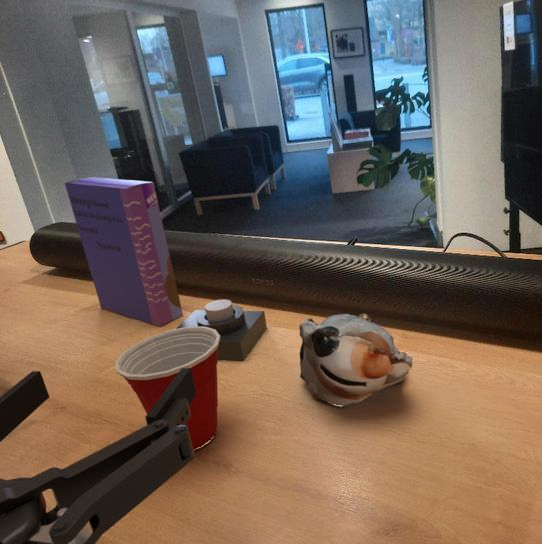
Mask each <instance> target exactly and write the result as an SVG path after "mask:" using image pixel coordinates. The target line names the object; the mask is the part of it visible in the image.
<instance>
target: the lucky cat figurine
mask: <svg viewBox="0 0 542 544" xmlns="http://www.w3.org/2000/svg"><path fill="white" fill-rule="evenodd" d="M298 329H299V337H300V338H301V341H302V342H301V345H300V350H299V368H300V374H299V378H300V379H302V380H303V381H304V383H305V384H306V386H307V388H308V390H309V392H310V395H311V394H312V395H311V396H312V398H315V397H316V398H315V399H318V398H319V399H318V400H320V399H321V400H320V401H322V400H324V401H323V402H325V401H327V402H330V403H332V404H336V405H341V406H342V405H343V406H344V407H346V406H348V405H351V404H359V403H360V402H362V401H364V400H366V399H367V398H368V397H370V396H372V395H373V394H375V393H377V392H379V391H381V390H383V389H385V388H388V387H391V386H394V385H396V384H398V383H400V382H402V381H404V379H403V378H405V377H406V376H407V375H408V374H409V372H410V370H411V369H412V367H413V356H409V355H408V354H407V353H406V352H404V351H400V349H398V348H397V347H396V346H395V341H394V337H393V335H392V334H391V333H390V332H389V331H388V330H386V329H385V328H384V327H383V326H381V325H380V324H377V323H375V322H372V319H371V317H370V316H369V314H367V313H364V312H362V313H361V314H359V315H358V316H357V315H351V314H349V313H341V314H339V313H338V314H334V315H330V316H327V317H326V318H325V319H324V320H323V321H322V322H320V323H317V322H315V321H314V320H313V318H311V317H310V318H306V319H305V320H304V321H302V322H301V323H300V324H299V328H298ZM395 383H396V384H395ZM393 384H394V385H393ZM390 385H391V386H390ZM387 386H388V387H387ZM327 402H326V403H327ZM345 405H346V406H345Z"/></svg>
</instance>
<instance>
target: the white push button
mask: <svg viewBox="0 0 542 544" xmlns="http://www.w3.org/2000/svg"><path fill="white" fill-rule="evenodd" d="M232 305H233V302H232V301H231V300H230V299H225V298H224V299H222V298H221V299H216V300H212V301H209V302H207V304H205V306H204V310H205V311H206V316H207V320H208V321H212V322H218V321H223V320H227V319H229V318H231V317H233V316H234V312H233V306H232Z"/></svg>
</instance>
